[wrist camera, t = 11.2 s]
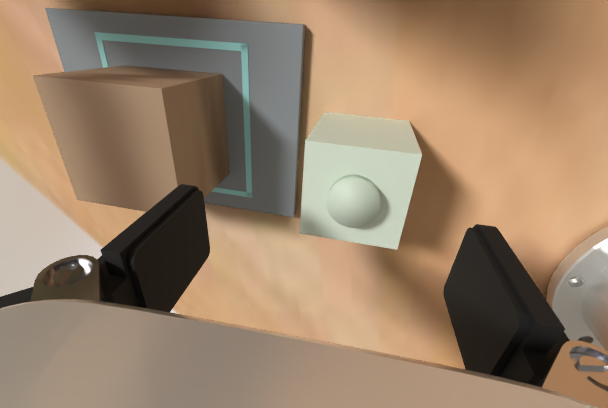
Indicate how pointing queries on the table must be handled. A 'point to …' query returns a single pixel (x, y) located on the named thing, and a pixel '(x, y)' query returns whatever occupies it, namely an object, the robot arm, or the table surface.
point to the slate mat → (236, 81)
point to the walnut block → (137, 131)
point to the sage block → (358, 179)
